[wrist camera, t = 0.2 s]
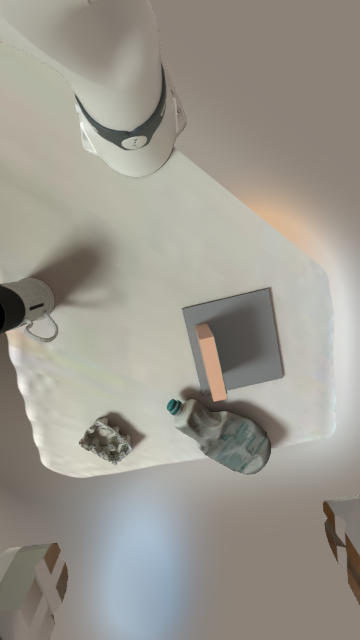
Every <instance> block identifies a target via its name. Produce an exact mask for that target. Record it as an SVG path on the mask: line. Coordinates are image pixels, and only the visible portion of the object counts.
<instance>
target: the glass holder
mask: <svg viewBox="0 0 360 640" xmlns="http://www.w3.org/2000/svg"><path fill="white" fill-rule="evenodd" d="M54 304H55V300H54V295H53V292H52V291H51V289H50V288H49V286H48V285H47V284H46V283H44V282H43V281H41V280H39V279H36V278H24V279H22V280H19V281H18V282H11V283H4V284H0V334H1V333H4V332H6V331H10V330H13V329H16V328H18V327H20V326H23V325H25V324H27V323H28V324H29V325H28V326H26V328H25V330H24V331H25V334H26V335H27V336H28V337H30V338H31V339H33V340H36V341H39V342H50V341H52V340H53V339H55V338H56V336H57V334H58V326H57V325H56V323H55V322H54V320H53V319H52V318H51V317H50V316H49V315H50V314H51V312H52V311H53V308H54ZM44 318H47V319H48V320H49V322H50V323H51V324H52V326H53V327H54V330H55V335H54V336H53V337H51V338H41V337H38V336H35V335H33V334H32V333H31V332H30V331H29V330H28V329H29V328H31V327H32V325H33V322H32V321H38V320H42V319H44Z"/></svg>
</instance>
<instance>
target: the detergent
mask: <svg viewBox="0 0 360 640" xmlns="http://www.w3.org/2000/svg"><path fill="white" fill-rule="evenodd" d="M167 410H169V411H170V413H171V414H172V415H174V416H175V415H176V416H175V421H174V425H175V427H176V428H177V429H178V430H180V431H181V432H183V433H184V434H186V435H188V436H190V437H191V438H193V439H195V440H196V441H197V444H198V447H199V449H200V450H201V451H202V452H203V453H204V454H205V455H207V456H208V457H210V458H211V459H214V460H216V461H217V462H219V463H220V464H222V465H224V466H226V467H228V468H230V469H231V470H233V471H237V472H240V473H243V474H255V473H257V472H259V471H260V470H261V469H262V468H263V467H264V466H265V465H266V463H267V462H268V459H269V457H270V454H271V443H270V439H269V437H268V436H267V432H265V431H264V430H263V429H262V428H261V427H260V426H258V425H257V424H256V423H254V422H253V421H251V420H250V419H247V418H245V417H241V416H238V415H236V414H233V413H230V412H227V411H220V412H210V411H209V410H208V409H207V408H206V407H205V406H204V405H203V404H201V403H200V402H198V401H197V400H194V399H190V400H187V401H186V402H185V403H183V404H182V403H181V402H180V401H179V400H177V401H176V400H174V399H172V400H171V401H170V402H169V403H168V405H167Z"/></svg>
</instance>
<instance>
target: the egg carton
mask: <svg viewBox="0 0 360 640" xmlns="http://www.w3.org/2000/svg"><path fill="white" fill-rule="evenodd" d="M99 425H104V426H105V429H104V428H102V429H100V430H99V435H100V436H102V437H105V436H107V435H108V433H109V434H112V433H113V432H114V433H115V435H116V437H111V438H110V441H109V443H108V446H103V447H102V446H100V445H99V440H98V439H97V438H91V439H90V438H89V437H88V434H91V433H93V432H94V431H95V428H96V426H99ZM119 430H120V428H119V427H117V426H116V427H110V426H109V425H108V419H107V418H103V419H99V418H98V419H96V420H95V422H94V425H93V426H92V427H91V428H88V429H87V430H86V432H85V434H84V437H83V438H82V439H81V440H80V441H79V445H81V447H83V448H85V449H86V450H88V451H90V450H91V451H92V452H93V453H94V454H97V455H98V456H100V457H101V458H102V459H105V460H108V461H109V462H112V464H114V465H116V464H117V463H118V462H120V461H121V460H122V459H123V458H124V457H125V456H127V455H128V453H129V452H131V451H132V448H131V442H130V438H131V436H129V435H126V436H122V435H120V433H119ZM119 443H123V444H124V443H126V445H123V446H121V449H120V453H119V454H114V455H112V454H111V453H110V451H115V450H117V448H118V445H119Z"/></svg>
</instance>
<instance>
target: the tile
mask: <svg viewBox="0 0 360 640" xmlns="http://www.w3.org/2000/svg"><path fill="white" fill-rule="evenodd" d="M195 329H196V333H197V337H198V342H199V346H200V350H201V355H202V359H203V363H204V368H205V372H206V376H207V380H208V384H209V387H210V390H211V394H212V397H213V401H214V402H215V401H220V400H224V399H227V395H226V394H227V391H226V387H225V382H224V377H223V373H222V368H221V363H220V359H219V354H218V349H217V345H216V340H215V337H214V335H213V334H212V332H211V330H210V328H209V326H208V325H207V323H204V324H200V325H196V326H195Z"/></svg>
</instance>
